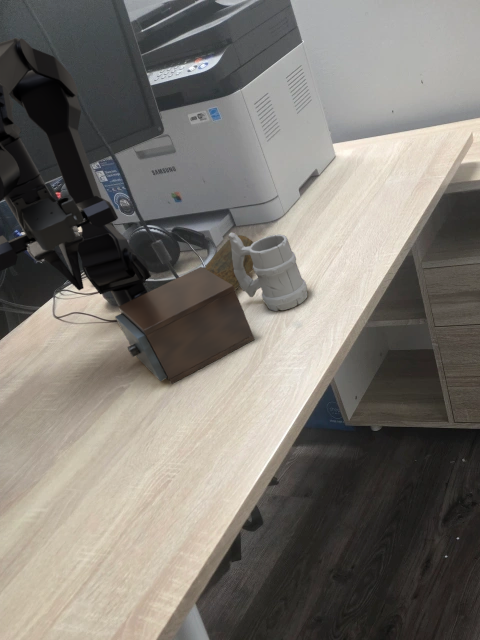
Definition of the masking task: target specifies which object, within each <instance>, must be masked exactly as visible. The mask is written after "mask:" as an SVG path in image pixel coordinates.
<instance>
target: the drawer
mask: <svg viewBox="0 0 480 640" xmlns="http://www.w3.org/2000/svg"><path fill="white" fill-rule="evenodd" d="M114 318H115V320H116V322H117V323H118V325H119V327H120V329H121V331H122V332H123V334H124V336H125V338H126V340H127V342H128V343H129V346H126V347H127V351H128V352H129V354H130V355H131V357H133V358H134V357H136V358H137V359H138V360H139V361H140V362H141V364H143V365H144V366H145V367H146V368H147V369H148V371H150V372H151V373H152V374H153V376H154V377H156V379H158V380H159V382H162V381H165V379H166V378H167V375H166V374H165V372H164V370H163V368H162V366H161V364H160V362H159V360H158V358H157V356H156V355H155V353H154V351H153V349H152V347H151V345H150V343H149V341H148V339H147V337H146V336H145V333H143V332H141V331H140V330H139V329H138V328H137V327H136V326H135V325H134V324H133V323H132V322H131V321H130V320H128V319H127V318H126V317H125V316H124V315H123V314H122V313H121V312H120V314H117V315H115V316H114ZM166 380H167V379H166Z"/></svg>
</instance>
